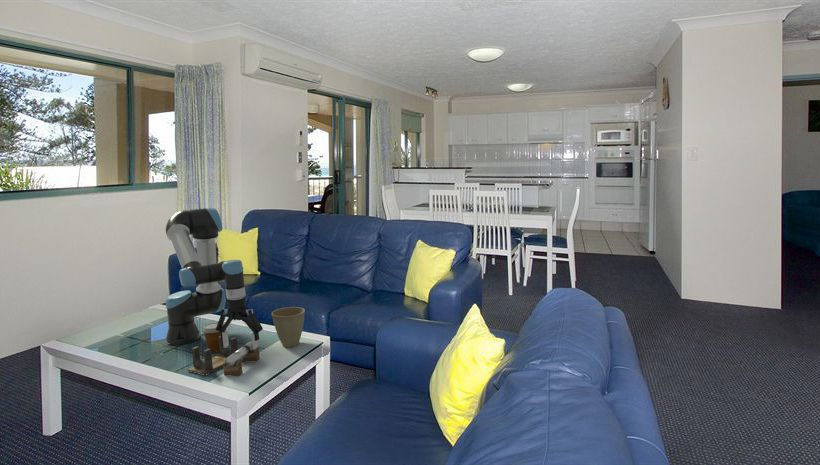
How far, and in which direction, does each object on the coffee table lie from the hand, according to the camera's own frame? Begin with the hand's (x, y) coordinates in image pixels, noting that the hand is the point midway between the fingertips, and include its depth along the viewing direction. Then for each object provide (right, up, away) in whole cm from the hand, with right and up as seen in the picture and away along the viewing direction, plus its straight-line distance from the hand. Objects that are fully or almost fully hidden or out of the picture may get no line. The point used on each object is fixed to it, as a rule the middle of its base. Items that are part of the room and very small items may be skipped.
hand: (241, 347), depth 209 cm
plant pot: (+15, -5, +25) cm, 30 cm away
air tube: (0, -5, +1) cm, 5 cm away
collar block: (-12, -9, +6) cm, 16 cm away
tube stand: (0, -9, +2) cm, 9 cm away
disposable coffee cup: (-19, -7, +22) cm, 29 cm away
